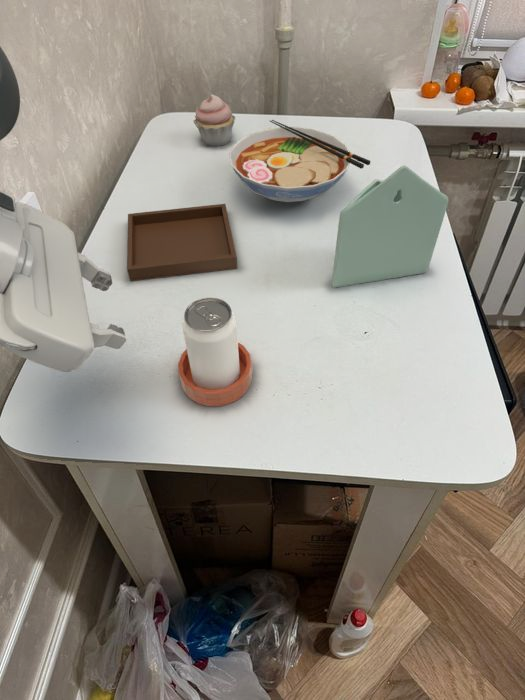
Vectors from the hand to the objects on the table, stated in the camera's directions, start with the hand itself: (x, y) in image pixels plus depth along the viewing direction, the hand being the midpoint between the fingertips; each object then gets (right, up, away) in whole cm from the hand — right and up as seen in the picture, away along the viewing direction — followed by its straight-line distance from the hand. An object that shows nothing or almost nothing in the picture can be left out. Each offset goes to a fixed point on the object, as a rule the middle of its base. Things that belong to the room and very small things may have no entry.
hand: (115, 309), depth 55 cm
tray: (+2, +14, +32) cm, 35 cm away
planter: (+34, +10, +28) cm, 46 cm away
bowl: (+10, -8, +13) cm, 19 cm away
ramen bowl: (+21, +27, +44) cm, 56 cm away
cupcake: (+6, +43, +57) cm, 72 cm away
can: (+10, -8, +13) cm, 18 cm away
